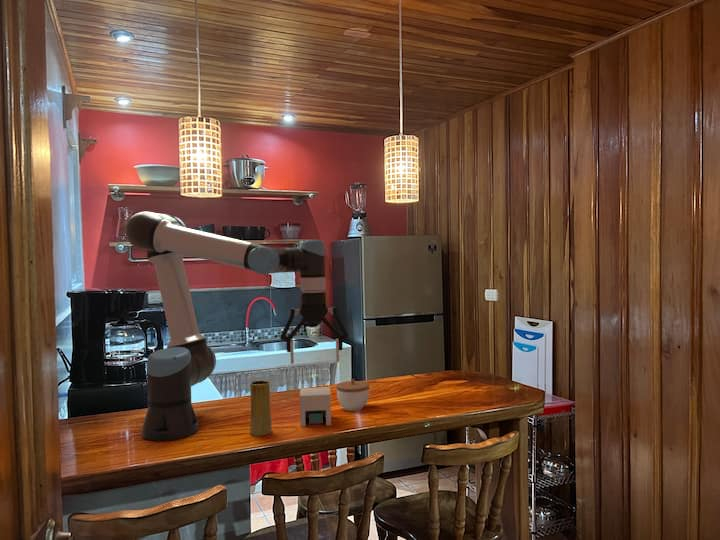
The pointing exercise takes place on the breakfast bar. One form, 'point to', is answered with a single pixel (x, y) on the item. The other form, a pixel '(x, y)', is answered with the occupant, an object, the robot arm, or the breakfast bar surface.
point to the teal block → (315, 416)
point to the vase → (260, 408)
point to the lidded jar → (352, 394)
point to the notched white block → (315, 403)
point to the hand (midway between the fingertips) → (315, 362)
